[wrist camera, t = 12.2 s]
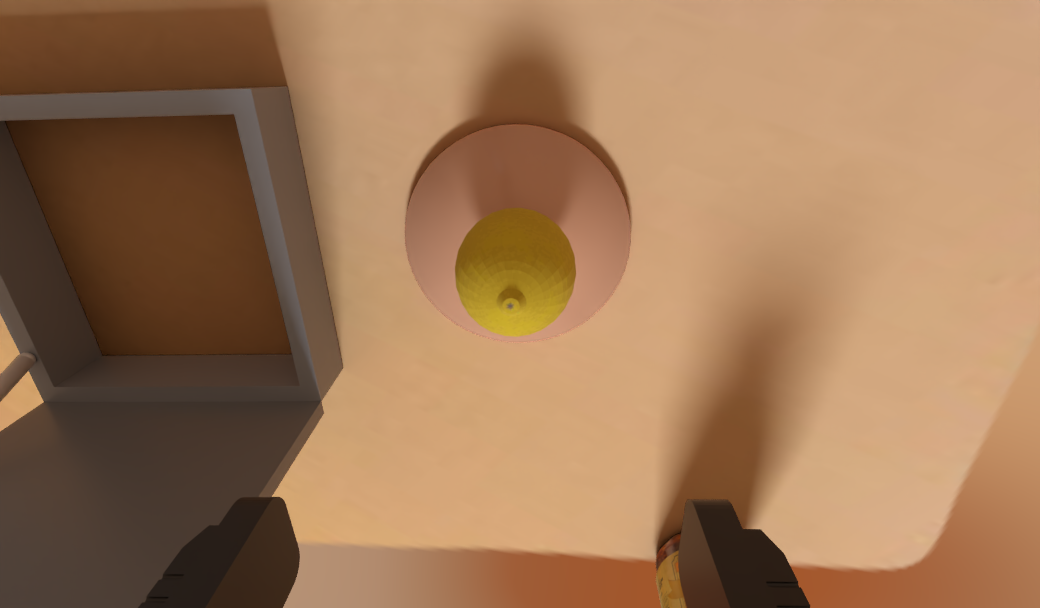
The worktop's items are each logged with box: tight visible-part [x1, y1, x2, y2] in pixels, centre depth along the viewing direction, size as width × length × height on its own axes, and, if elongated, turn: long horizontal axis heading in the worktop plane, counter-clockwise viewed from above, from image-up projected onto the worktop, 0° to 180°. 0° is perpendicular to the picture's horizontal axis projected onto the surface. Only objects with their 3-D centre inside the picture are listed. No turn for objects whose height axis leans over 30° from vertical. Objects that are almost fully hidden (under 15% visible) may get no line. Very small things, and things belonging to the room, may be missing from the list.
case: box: [0, 86, 343, 608], centre depth 20 cm, size 17×16×20 cm
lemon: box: [455, 208, 576, 337], centre depth 24 cm, size 6×6×8 cm
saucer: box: [405, 124, 631, 343], centre depth 28 cm, size 12×12×1 cm
